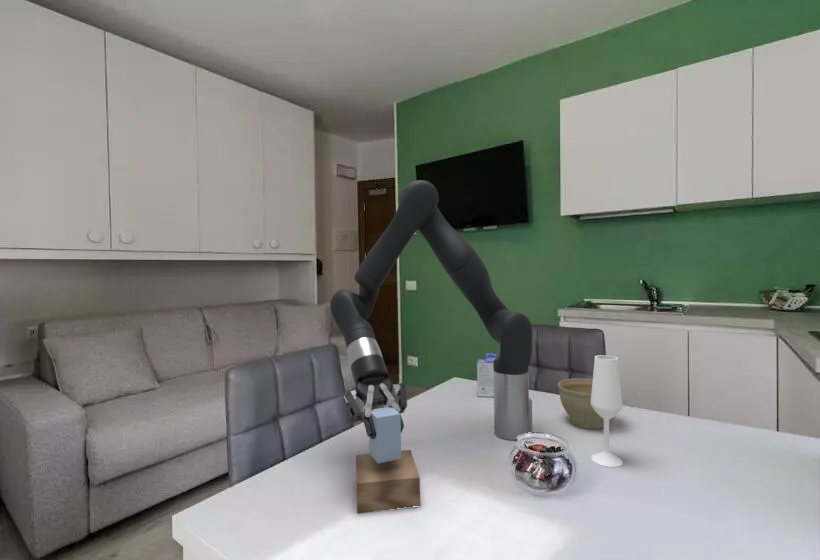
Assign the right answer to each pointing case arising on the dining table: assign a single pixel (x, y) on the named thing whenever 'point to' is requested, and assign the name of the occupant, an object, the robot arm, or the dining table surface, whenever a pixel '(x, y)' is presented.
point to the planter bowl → (579, 403)
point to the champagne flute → (606, 402)
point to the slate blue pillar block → (386, 435)
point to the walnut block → (386, 483)
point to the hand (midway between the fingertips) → (387, 434)
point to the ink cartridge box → (485, 376)
